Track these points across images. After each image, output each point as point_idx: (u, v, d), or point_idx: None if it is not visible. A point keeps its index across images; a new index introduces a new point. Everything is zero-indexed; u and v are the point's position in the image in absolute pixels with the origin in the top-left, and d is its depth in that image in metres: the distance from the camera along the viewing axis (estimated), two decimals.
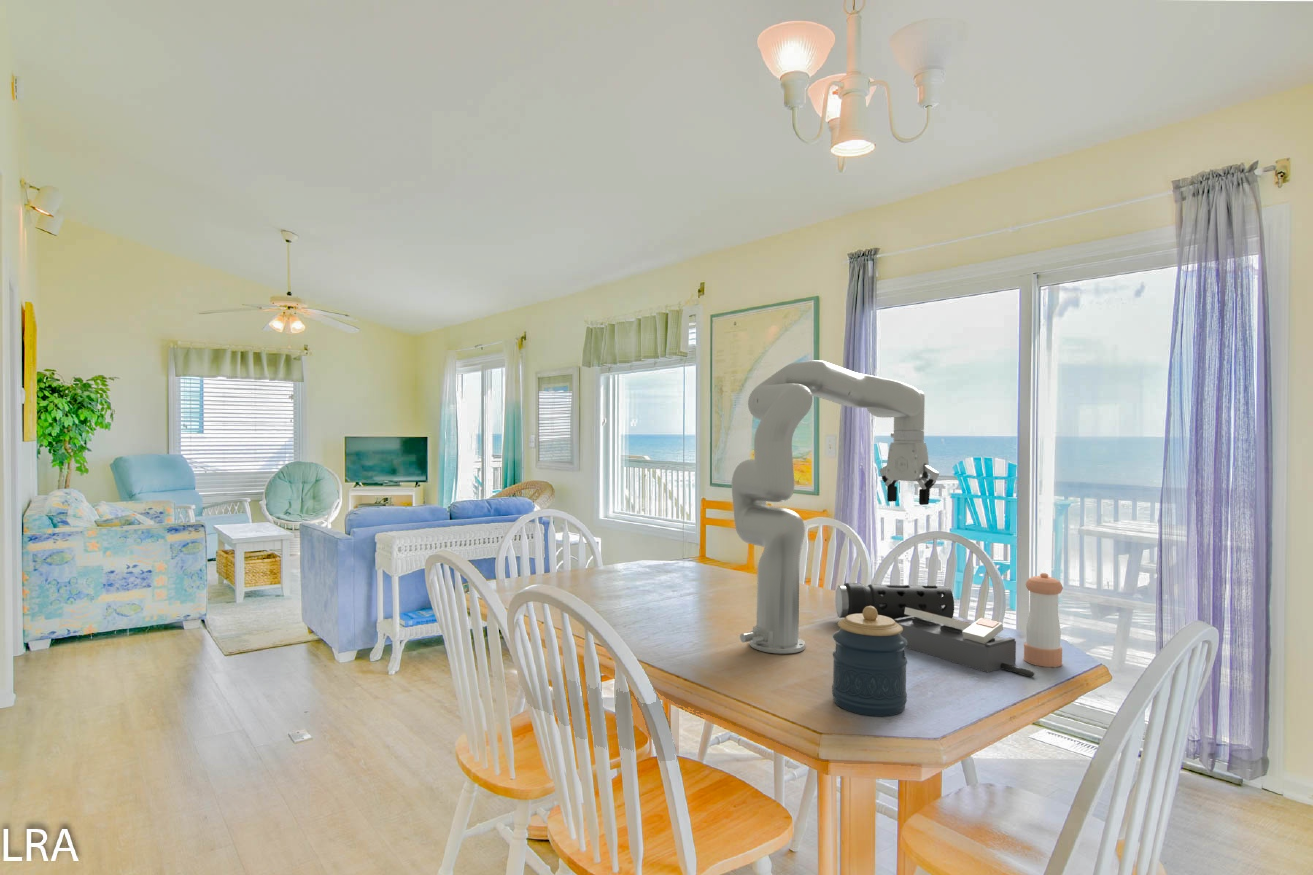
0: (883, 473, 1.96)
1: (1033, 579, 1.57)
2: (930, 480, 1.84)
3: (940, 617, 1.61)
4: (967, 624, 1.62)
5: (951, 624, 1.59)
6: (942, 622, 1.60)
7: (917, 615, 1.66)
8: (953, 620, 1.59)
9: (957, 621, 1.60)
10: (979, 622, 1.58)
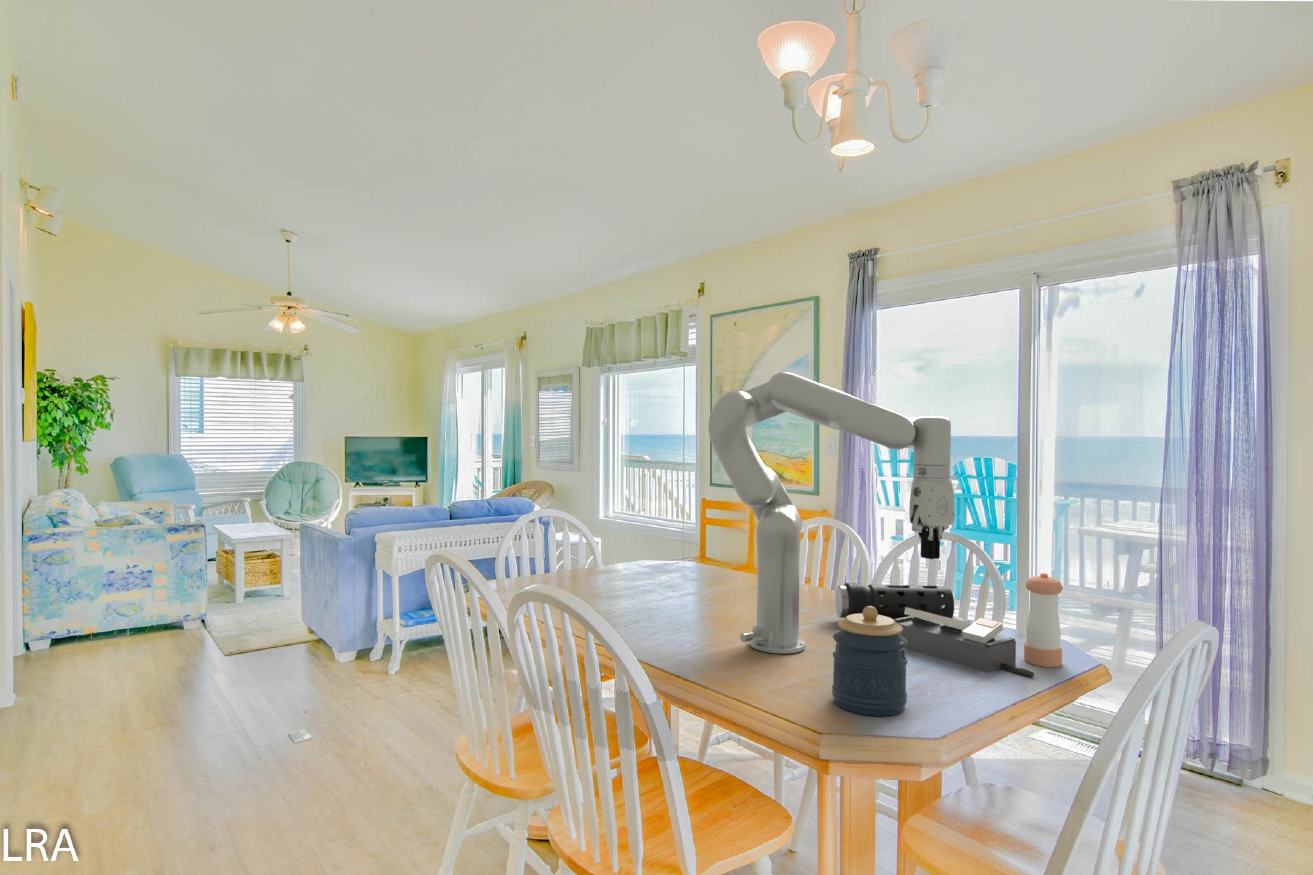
0: (921, 528, 1.55)
1: (1033, 579, 1.57)
2: (943, 527, 1.59)
3: (940, 617, 1.61)
4: (967, 624, 1.62)
5: (951, 624, 1.59)
6: (942, 622, 1.60)
7: (917, 615, 1.66)
8: (953, 620, 1.59)
9: (957, 621, 1.60)
10: (979, 622, 1.58)
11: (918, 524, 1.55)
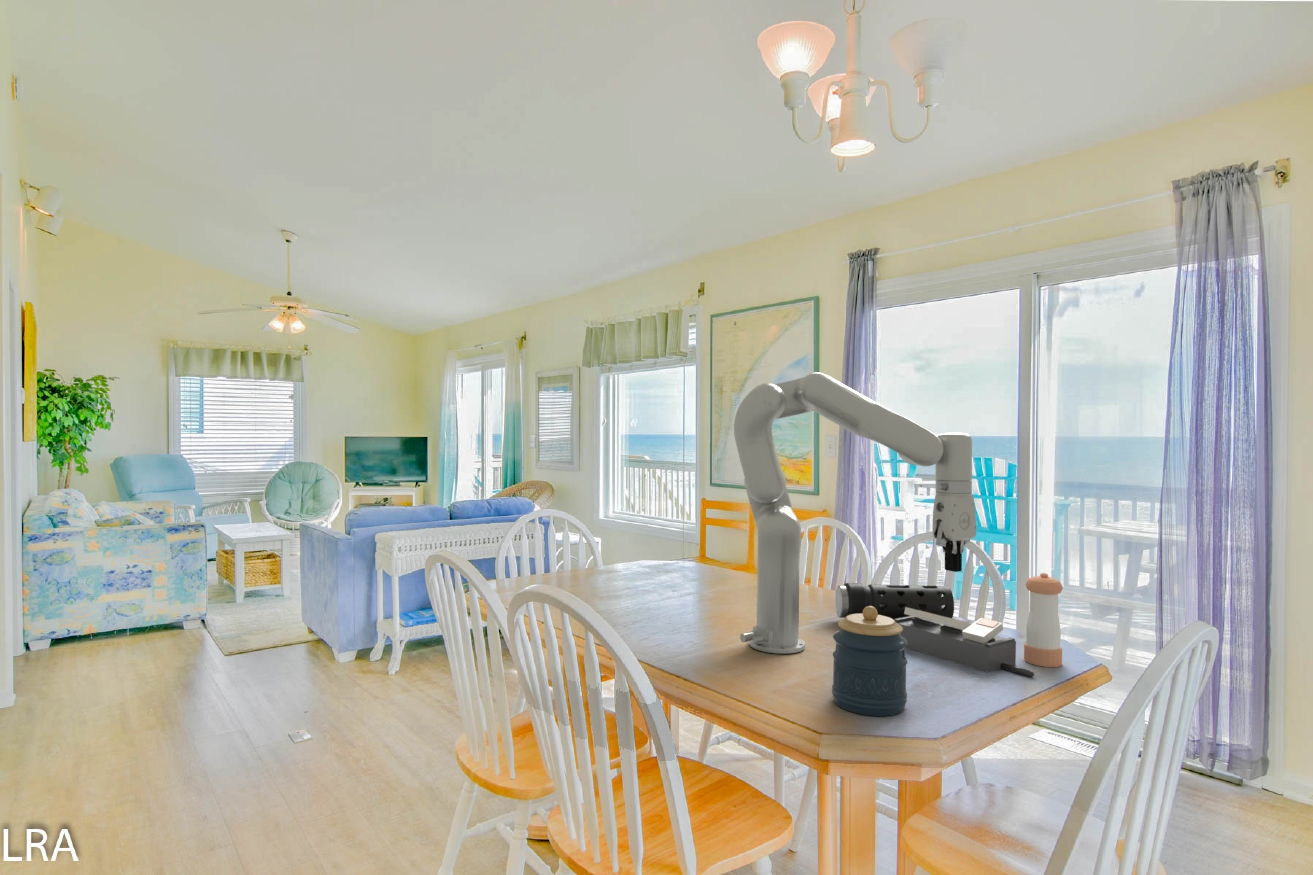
0: (945, 542, 1.60)
1: (1033, 579, 1.57)
2: (964, 541, 1.63)
3: (940, 617, 1.61)
4: (967, 624, 1.62)
5: (951, 624, 1.59)
6: (942, 622, 1.60)
7: (917, 615, 1.66)
8: (953, 620, 1.59)
9: (957, 621, 1.60)
10: (979, 622, 1.58)
11: (942, 539, 1.59)
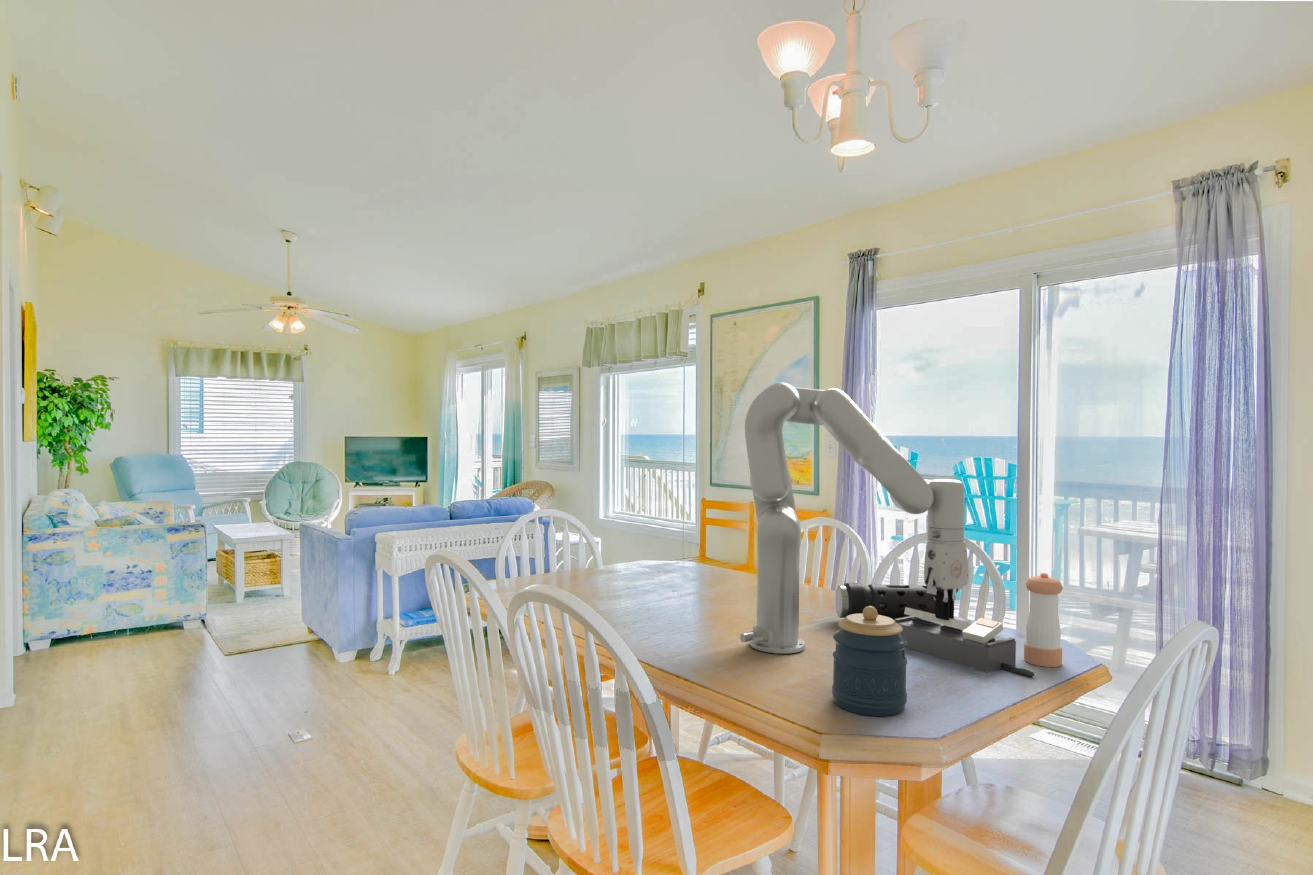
0: (935, 590, 1.58)
1: (1033, 579, 1.57)
2: (956, 588, 1.62)
3: None
4: (967, 624, 1.62)
5: (951, 624, 1.59)
6: (942, 622, 1.60)
7: (917, 615, 1.66)
8: (953, 620, 1.59)
9: (957, 621, 1.60)
10: (979, 622, 1.58)
11: (933, 587, 1.58)
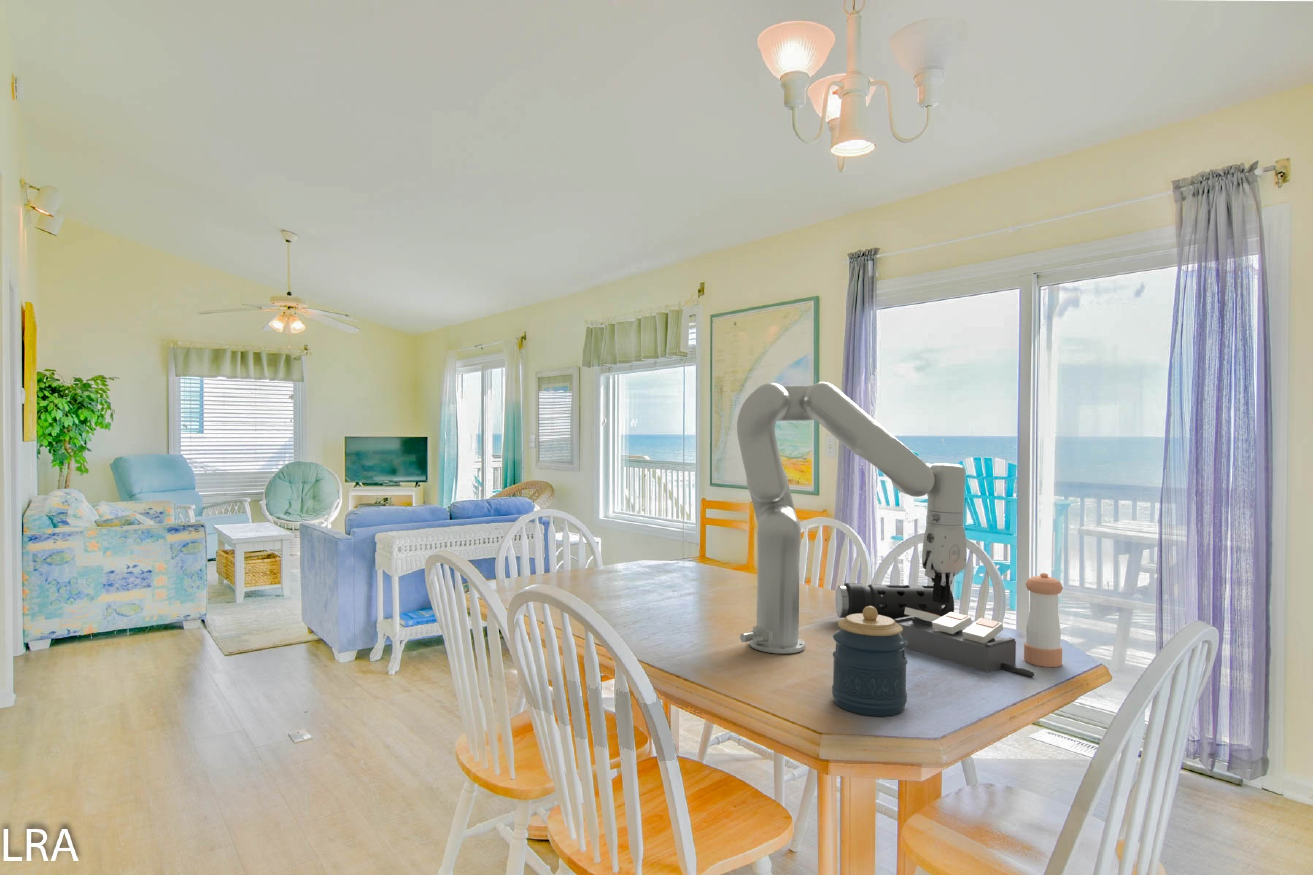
0: (934, 573, 1.58)
1: (1033, 579, 1.57)
2: (953, 573, 1.62)
3: (940, 625, 1.61)
4: (967, 619, 1.61)
5: (951, 632, 1.59)
6: (942, 630, 1.61)
7: (917, 615, 1.66)
8: (952, 628, 1.59)
9: (956, 625, 1.59)
10: (979, 622, 1.58)
11: (931, 570, 1.58)
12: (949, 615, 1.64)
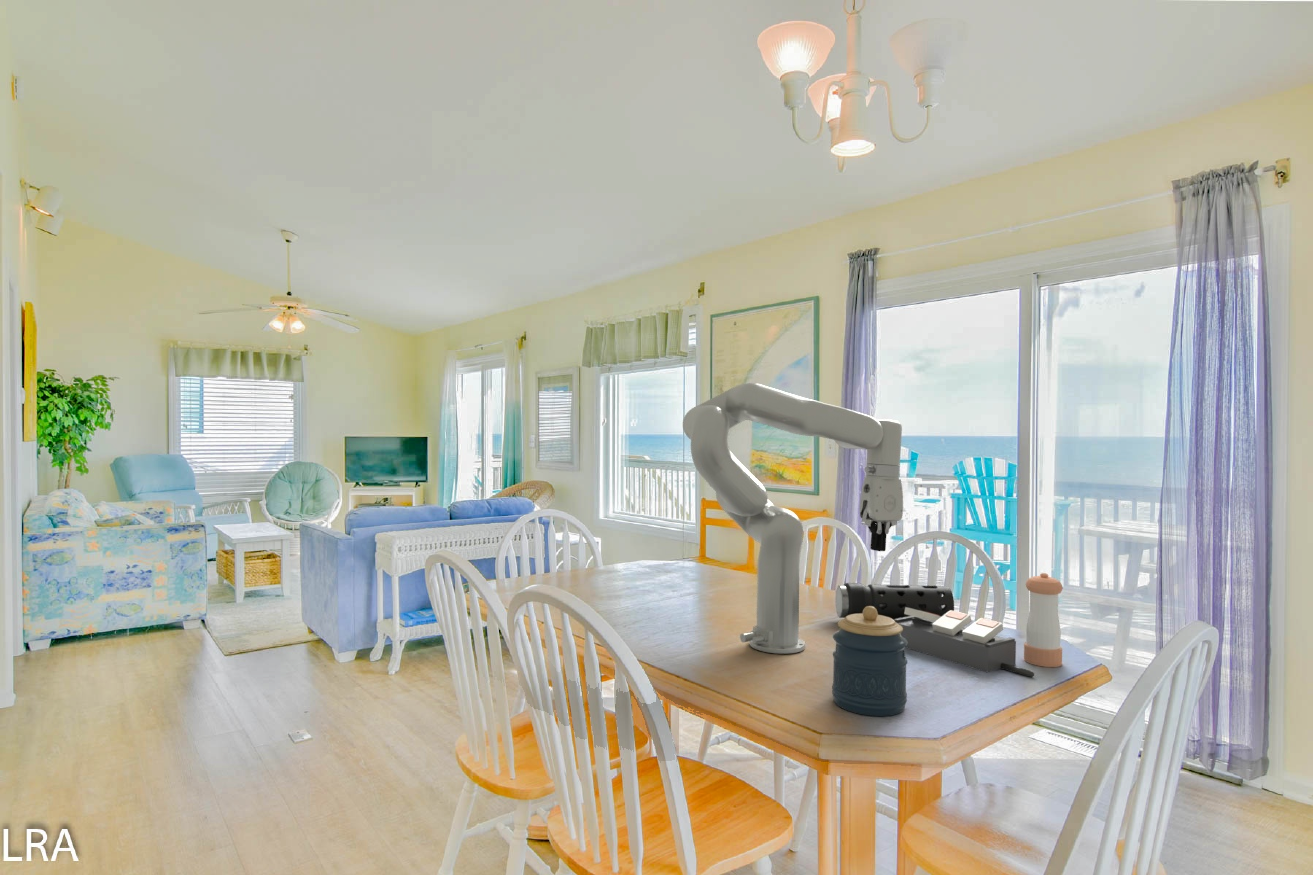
0: (870, 522, 1.69)
1: (1033, 579, 1.57)
2: (890, 523, 1.72)
3: (940, 627, 1.61)
4: (966, 618, 1.61)
5: (952, 634, 1.59)
6: (943, 632, 1.61)
7: (917, 615, 1.66)
8: (952, 629, 1.59)
9: (956, 626, 1.59)
10: (979, 622, 1.58)
11: (867, 519, 1.68)
12: (949, 615, 1.64)
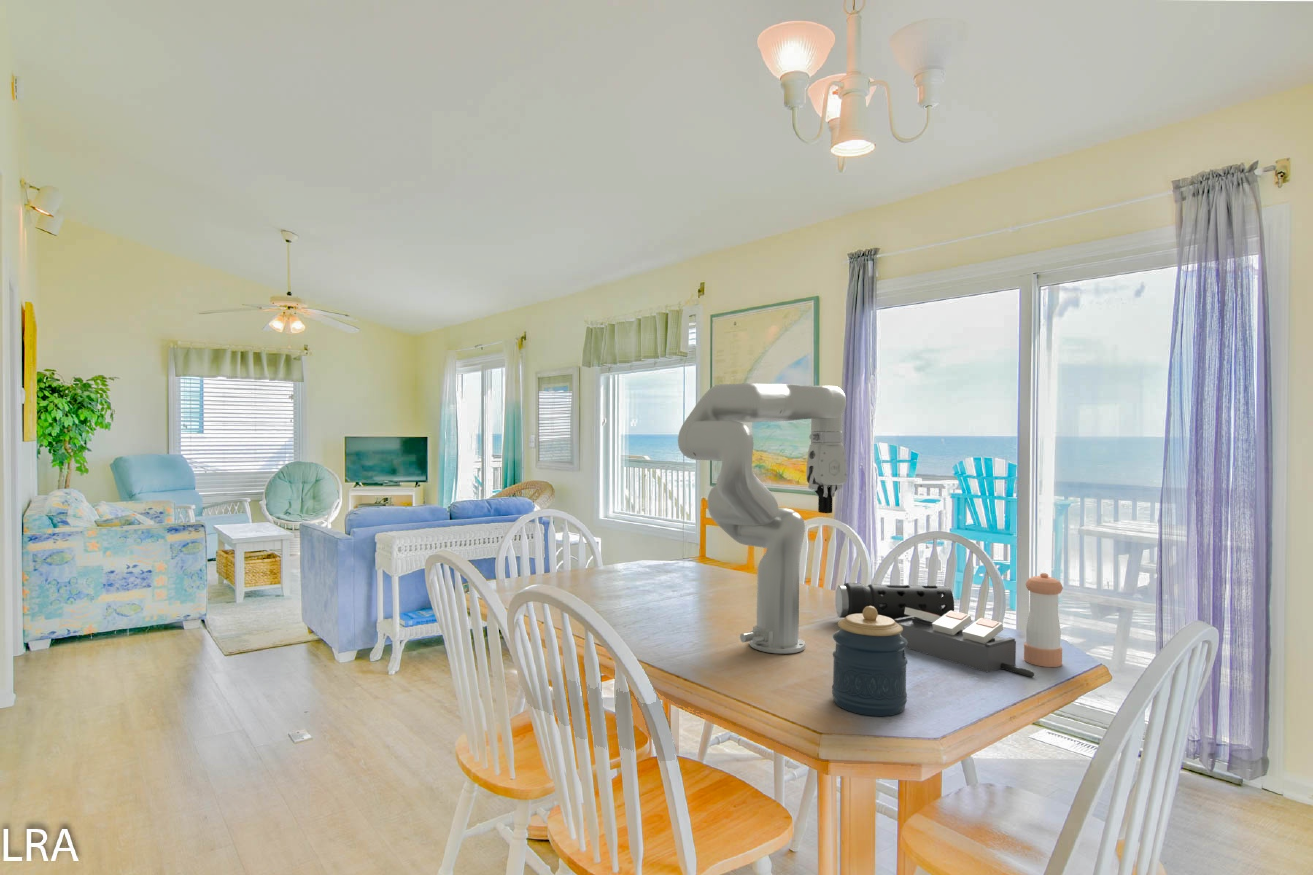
0: (816, 486, 1.79)
1: (1033, 579, 1.57)
2: (836, 486, 1.82)
3: (940, 627, 1.61)
4: (966, 619, 1.61)
5: (952, 633, 1.59)
6: (943, 631, 1.61)
7: (917, 615, 1.66)
8: (952, 629, 1.59)
9: (956, 626, 1.59)
10: (979, 622, 1.58)
11: (813, 483, 1.78)
12: (949, 615, 1.64)
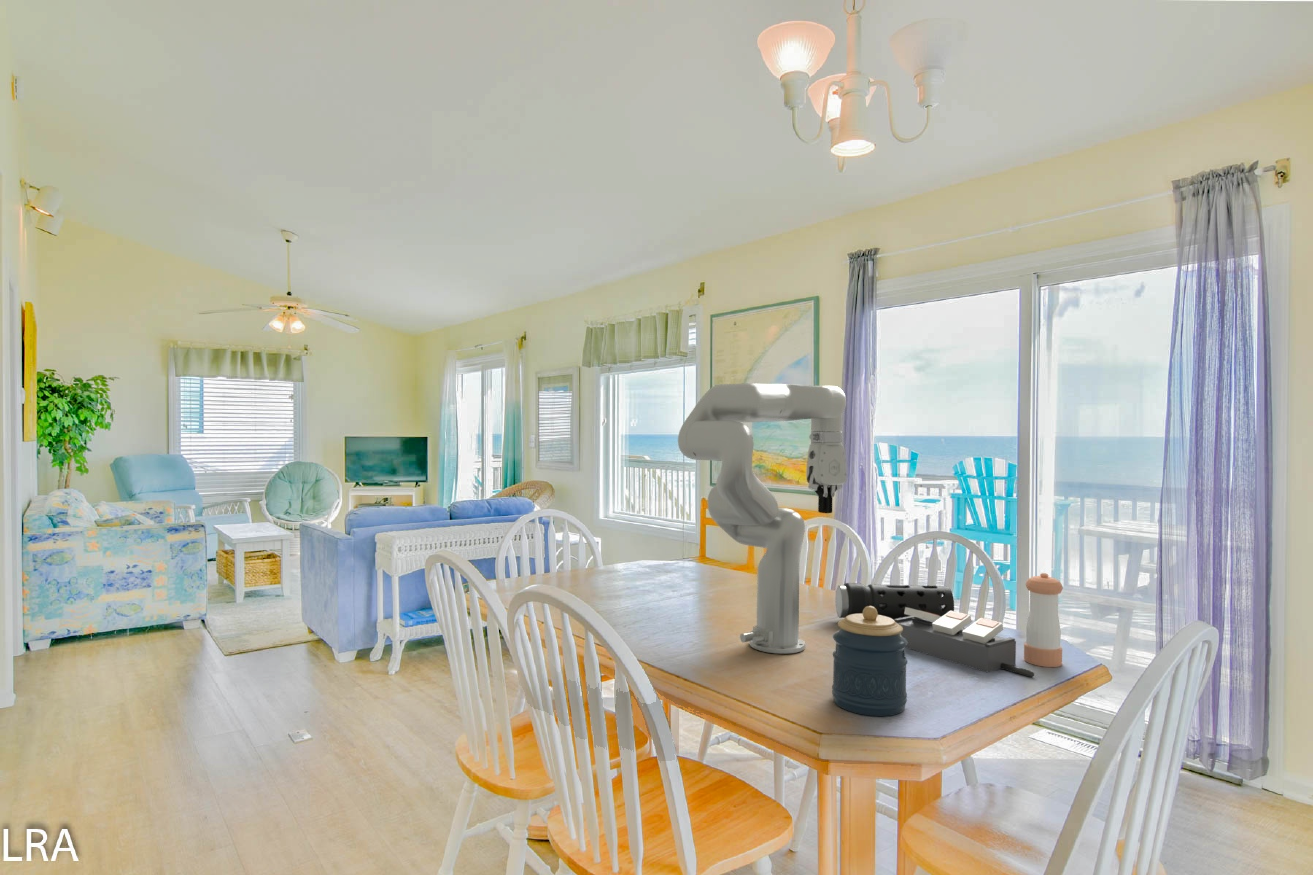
0: (816, 486, 1.79)
1: (1033, 579, 1.57)
2: (836, 486, 1.82)
3: (940, 627, 1.61)
4: (966, 619, 1.61)
5: (952, 633, 1.59)
6: (943, 631, 1.61)
7: (917, 615, 1.66)
8: (952, 629, 1.59)
9: (956, 626, 1.59)
10: (979, 622, 1.58)
11: (813, 483, 1.78)
12: (949, 615, 1.64)
